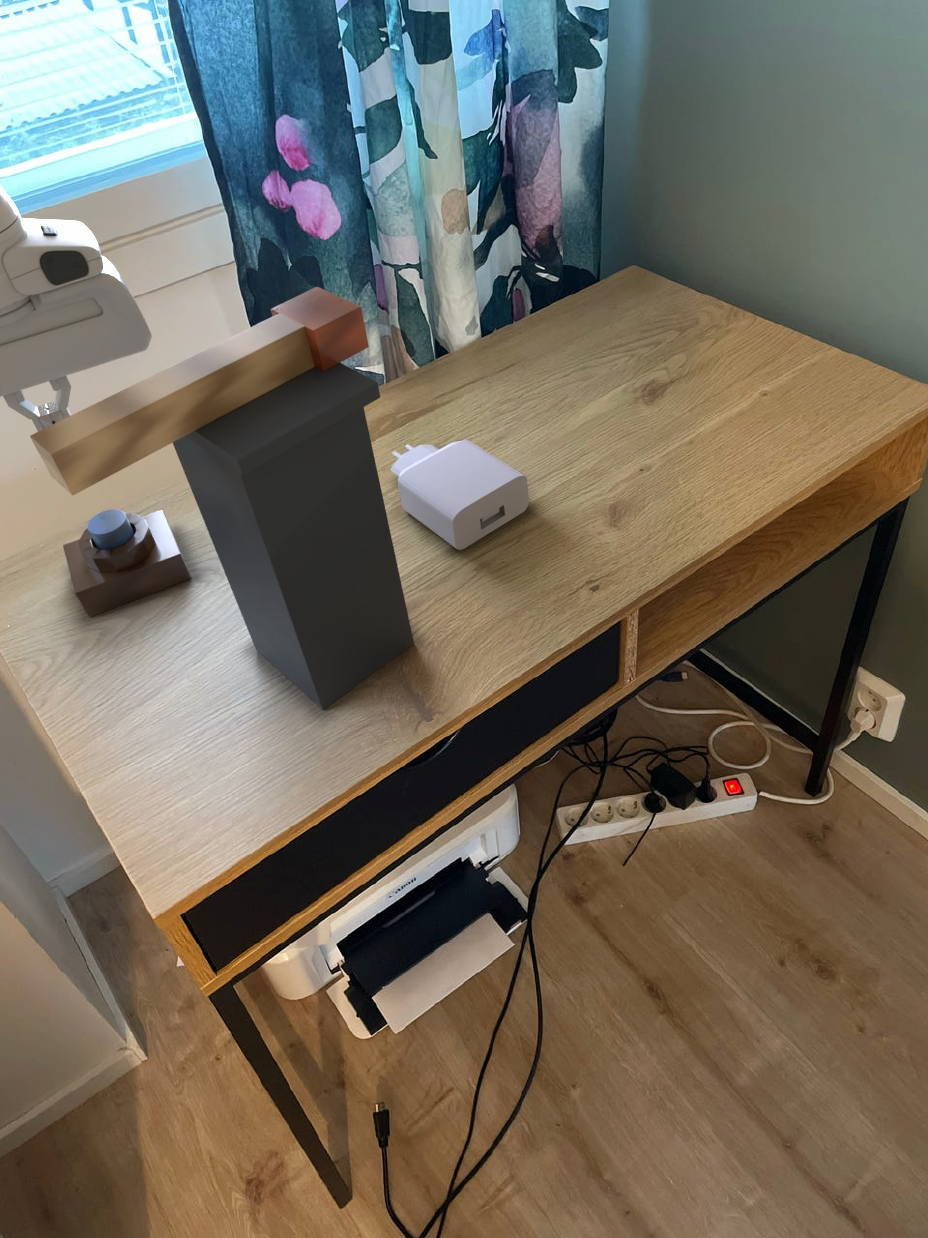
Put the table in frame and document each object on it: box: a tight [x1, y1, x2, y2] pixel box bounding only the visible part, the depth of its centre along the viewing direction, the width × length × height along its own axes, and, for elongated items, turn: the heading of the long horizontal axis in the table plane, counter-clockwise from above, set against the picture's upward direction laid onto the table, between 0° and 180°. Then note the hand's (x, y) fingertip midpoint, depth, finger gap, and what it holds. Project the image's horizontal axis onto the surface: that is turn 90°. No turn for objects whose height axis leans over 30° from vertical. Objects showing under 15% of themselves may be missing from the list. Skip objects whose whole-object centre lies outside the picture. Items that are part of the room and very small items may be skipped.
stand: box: [172, 362, 415, 711], centre depth 69 cm, size 11×13×26 cm
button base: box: [62, 509, 192, 618], centre depth 86 cm, size 10×8×5 cm
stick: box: [29, 286, 370, 496], centre depth 57 cm, size 22×5×3 cm, turn 133°
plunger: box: [86, 508, 134, 550], centre depth 84 cm, size 4×4×2 cm
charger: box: [389, 439, 530, 551], centre depth 90 cm, size 5×9×15 cm
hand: (56, 426), depth 76 cm, fingers closed
